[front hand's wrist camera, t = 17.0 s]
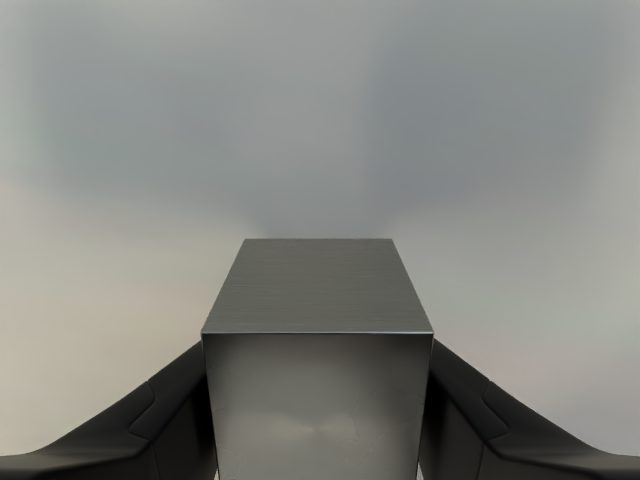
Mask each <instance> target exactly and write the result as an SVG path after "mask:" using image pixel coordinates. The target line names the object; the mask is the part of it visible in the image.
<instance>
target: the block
mask: <svg viewBox="0 0 640 480" xmlns="http://www.w3.org/2000/svg"><path fill="white" fill-rule="evenodd" d="M433 339H434V331H433V329H432V327H431V324H430V322H429V320H428V318H427V316H426V313H425V311H424V309H423V307H422V305H421V302H420V300H419V298H418V296H417V293H416V291H415V289H414V287H413V285H412V282H411V280H410V278H409V276H408V274H407V271H406V269H405V267H404V265H403V263H402V260H401V258H400V256H399V254H398V252H397V249H396V247H395V245H394V243H393V241H392V239H245V240H244V242H243V244H242V246H241V248H240V250H239V252H238V254H237V256H236V259H235V261H234V263H233V265H232V267H231V269H230V271H229V273H228V275H227V277H226V280H225V282H224V284H223V286H222V288H221V290H220V292H219V294H218V296H217V299H216V301H215V303H214V305H213V307H212V309H211V311H210V313H209V315H208V318H207V320H206V322H205V324H204V326H203V328H202V330H201V341H202V349H203V357H204V365H205V373H206V381H207V389H208V397H209V404H210V412H211V420H212V428H213V436H214V444H215V452H216V460H217V468H218V476H219V480H416V478H417V470H418V462H419V454H420V445H421V437H422V429H423V421H424V413H425V404H426V396H427V388H428V380H429V372H430V363H431V355H432V347H433Z"/></svg>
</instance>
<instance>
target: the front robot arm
mask: <svg viewBox="0 0 640 480" xmlns="http://www.w3.org/2000/svg"><path fill="white" fill-rule="evenodd" d="M419 464H420V468H421V471H422V475H423V478H424V480H640V457H638V456H626V455H616V454H611V453H607V452H604V451H601V450H598V449H596V448H594V447H591V446H589V445H587V444H586V443H584V442H582V441H581V440H579V439H577V438H576V437H574V436H573V435H571V434H570V433H568V432H566V431H565V430H563V429H562V428H560V427H558V426H557V425H555V424H554V423H552V422H551V421H549V420H547V419H546V418H544V417H543V416H541V415H539V414H538V413H536V412H535V411H533V410H532V409H530V408H529V407H527V406H526V405H524V404H523V403H521V402H520V401H518V400H517V399H515V398H514V397H512V396H511V395H510V394H508V393H507V392H506V391H504V390H503V389H501V388H500V387H499V386H497V385H496V384H495V383H493V382H492V381H490V380H489V379H488V378H487V377H485V376H484V375H483V374H481V373H480V372H479V371H477V370H476V369H475V368H473V367H472V366H471V365H469V364H468V363H467V362H465V361H464V360H463V359H461V358H460V357H459V356H457V355H456V354H455V353H453V352H452V351H451V350H449V349H448V348H447V347H445V346H444V345H443V344H441V343H440V342H439V341H438V340H436V339H435V338H434V339H433V347H432V355H431V363H430V372H429V380H428V388H427V396H426V404H425V413H424V421H423V429H422V437H421V445H420V454H419ZM216 471H217V460H216V452H215V444H214V436H213V428H212V420H211V412H210V404H209V397H208V389H207V381H206V373H205V365H204V357H203V349H202V341H199V342H198V343H197V344H195V345H194V346H192V347H191V348H190V349H188V350H187V351H186V352H184V353H183V354H182V355H180V356H179V357H178V358H176V359H175V360H174V361H172V362H171V363H170V364H168V365H167V366H166V367H164V368H163V369H162V370H160V371H159V372H158V373H156V374H155V375H154V376H152V377H151V378H150V379H149V380H148V381H146V382H144V383H143V384H142V385H140V386H139V387H138V388H136V389H135V390H133V391H132V392H131V393H129V394H128V395H126V396H125V397H124V398H122V399H121V400H119V401H118V402H116V403H115V404H113V405H112V406H110V407H109V408H107V409H106V410H104V411H102V412H101V413H99V414H98V415H96V416H95V417H93V418H91V419H90V420H88V421H87V422H85V423H83V424H82V425H80V426H79V427H77V428H75V429H74V430H72V431H71V432H69V433H67V434H66V435H64V436H63V437H61V438H60V439H58V440H56V441H55V442H53V443H51V444H49V445H48V446H45V447H43V448H41V449H39V450H36V451H33V452H30V453H26V454H20V455H10V456H0V480H214V478H215V474H216Z"/></svg>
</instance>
